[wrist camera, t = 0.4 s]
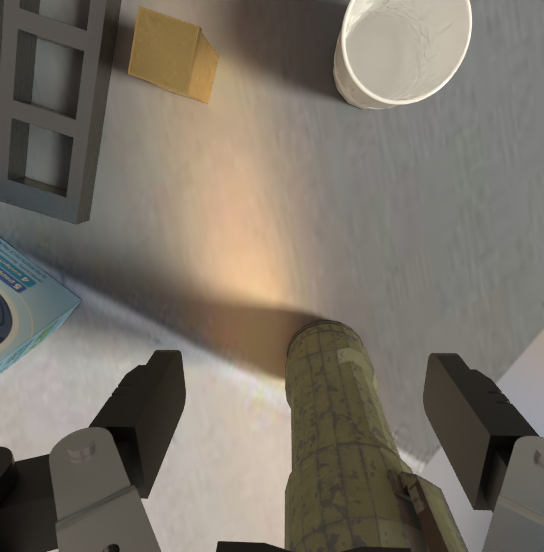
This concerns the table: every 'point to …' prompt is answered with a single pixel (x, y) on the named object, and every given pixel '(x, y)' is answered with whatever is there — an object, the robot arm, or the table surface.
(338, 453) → the thermos
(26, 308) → the gum box
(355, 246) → the table surface
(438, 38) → the white cup
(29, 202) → the grey compartment tray
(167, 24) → the golden rectangular block
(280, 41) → the table surface
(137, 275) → the table surface
